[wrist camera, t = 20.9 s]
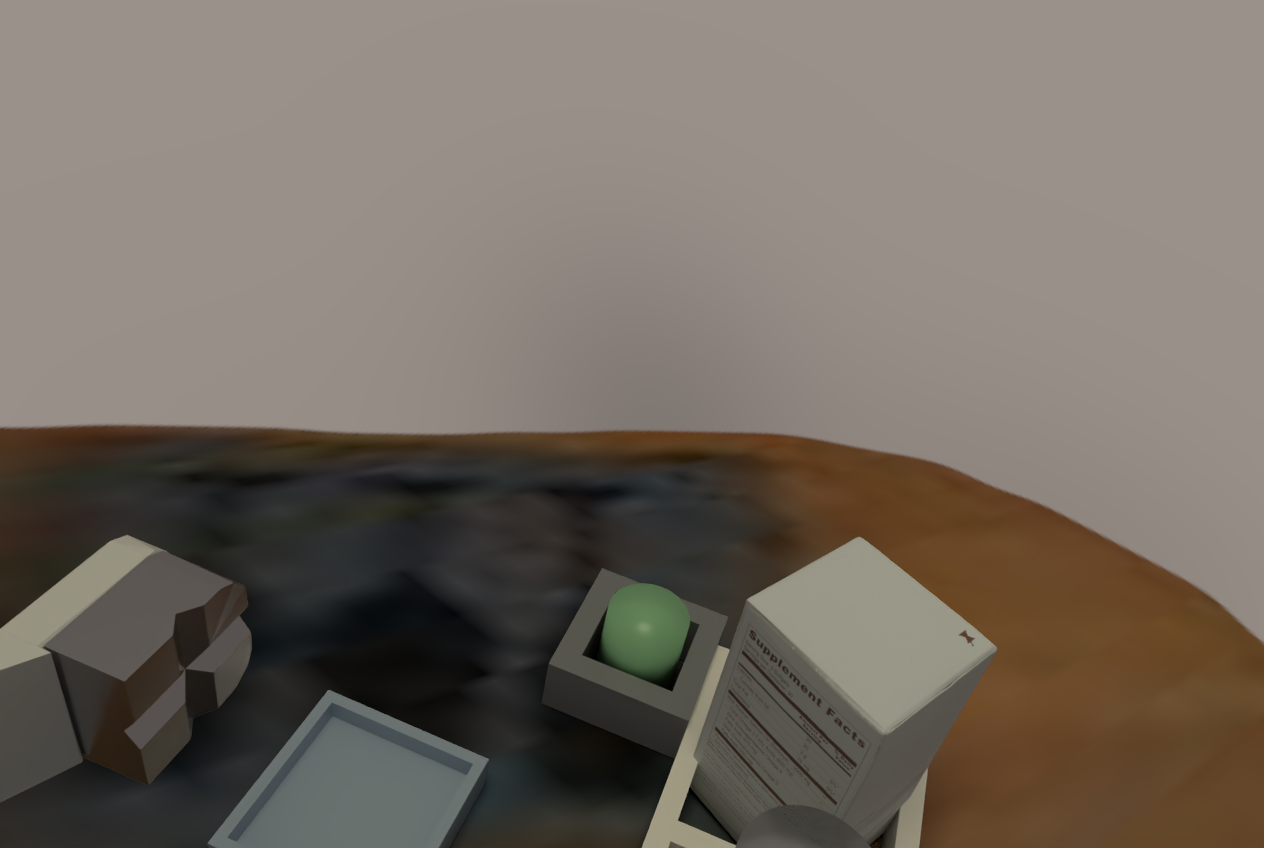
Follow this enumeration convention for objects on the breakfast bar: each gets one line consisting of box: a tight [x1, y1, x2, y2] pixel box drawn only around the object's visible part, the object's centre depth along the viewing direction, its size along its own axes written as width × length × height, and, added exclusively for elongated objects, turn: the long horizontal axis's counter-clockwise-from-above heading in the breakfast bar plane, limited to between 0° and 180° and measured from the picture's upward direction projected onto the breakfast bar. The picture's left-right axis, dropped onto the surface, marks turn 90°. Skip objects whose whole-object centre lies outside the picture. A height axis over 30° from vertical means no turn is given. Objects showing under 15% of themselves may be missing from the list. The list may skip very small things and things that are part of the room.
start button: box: [596, 583, 690, 690], centre depth 47 cm, size 4×4×4 cm
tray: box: [207, 690, 489, 848], centre depth 40 cm, size 8×8×2 cm
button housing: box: [542, 569, 728, 759], centre depth 48 cm, size 7×7×3 cm
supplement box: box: [690, 537, 997, 845], centre depth 41 cm, size 7×7×13 cm
